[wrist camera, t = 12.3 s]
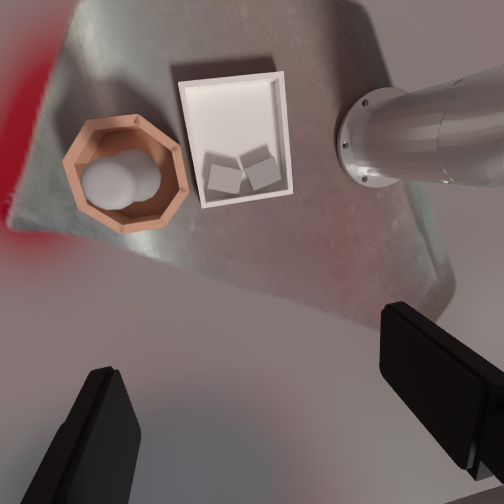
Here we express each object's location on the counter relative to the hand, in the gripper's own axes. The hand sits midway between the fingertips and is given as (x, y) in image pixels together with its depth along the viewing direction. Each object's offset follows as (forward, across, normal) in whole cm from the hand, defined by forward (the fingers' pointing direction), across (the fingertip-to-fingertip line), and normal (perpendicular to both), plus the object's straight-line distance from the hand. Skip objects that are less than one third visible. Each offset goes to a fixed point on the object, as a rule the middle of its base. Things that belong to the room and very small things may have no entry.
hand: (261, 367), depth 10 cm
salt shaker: (+30, +8, -6) cm, 31 cm away
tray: (+30, -4, -8) cm, 32 cm away
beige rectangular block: (+30, -2, -4) cm, 31 cm away
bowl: (+30, +8, -6) cm, 32 cm away
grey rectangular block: (+30, -7, -4) cm, 31 cm away
